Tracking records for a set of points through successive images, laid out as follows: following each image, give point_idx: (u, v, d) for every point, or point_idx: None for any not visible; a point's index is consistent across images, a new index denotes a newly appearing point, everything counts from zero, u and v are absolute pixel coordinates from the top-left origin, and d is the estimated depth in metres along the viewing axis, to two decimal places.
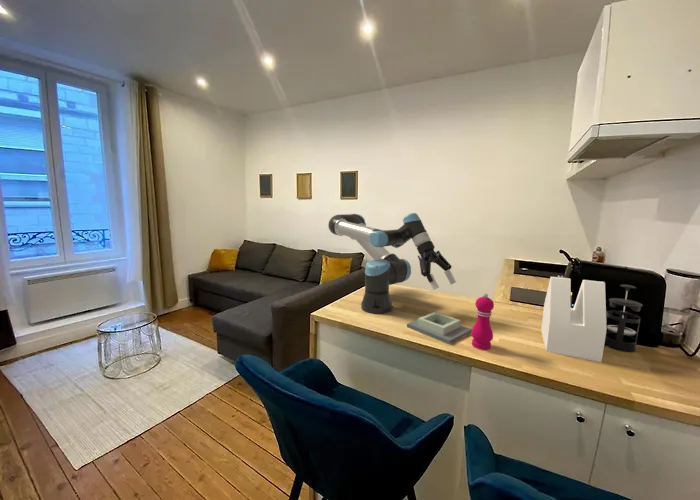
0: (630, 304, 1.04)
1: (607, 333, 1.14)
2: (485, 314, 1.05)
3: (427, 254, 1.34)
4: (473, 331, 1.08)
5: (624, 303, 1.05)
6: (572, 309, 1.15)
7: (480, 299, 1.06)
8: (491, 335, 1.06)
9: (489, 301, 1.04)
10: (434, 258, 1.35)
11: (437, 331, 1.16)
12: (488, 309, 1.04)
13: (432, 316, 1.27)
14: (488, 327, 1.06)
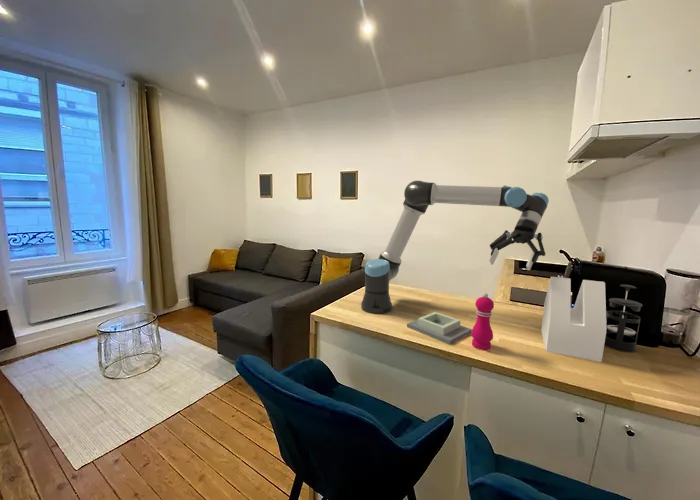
0: (630, 304, 1.04)
1: (607, 333, 1.14)
2: (485, 314, 1.05)
3: None
4: (473, 331, 1.08)
5: (624, 303, 1.05)
6: (572, 309, 1.15)
7: (480, 299, 1.06)
8: (491, 335, 1.06)
9: (489, 301, 1.04)
10: None
11: (437, 331, 1.16)
12: (488, 309, 1.04)
13: (432, 316, 1.27)
14: (488, 327, 1.06)
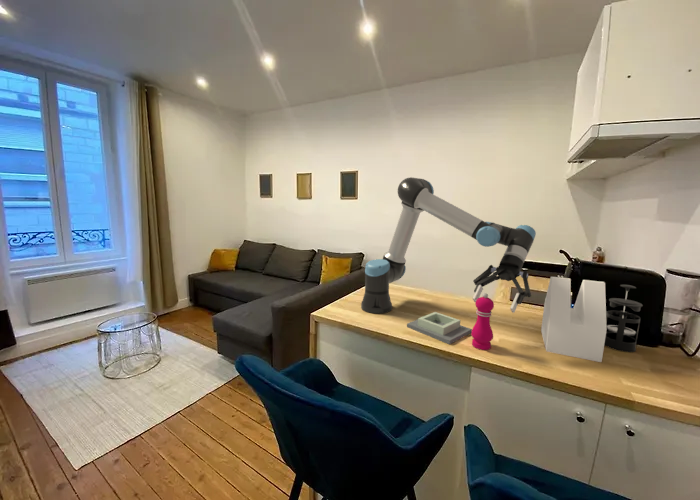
0: (630, 304, 1.04)
1: (607, 333, 1.14)
2: (485, 314, 1.05)
3: None
4: (473, 331, 1.08)
5: (624, 303, 1.05)
6: (572, 309, 1.15)
7: (480, 299, 1.06)
8: (491, 335, 1.06)
9: (489, 301, 1.04)
10: None
11: (437, 331, 1.16)
12: (488, 309, 1.04)
13: (432, 316, 1.27)
14: (488, 327, 1.06)
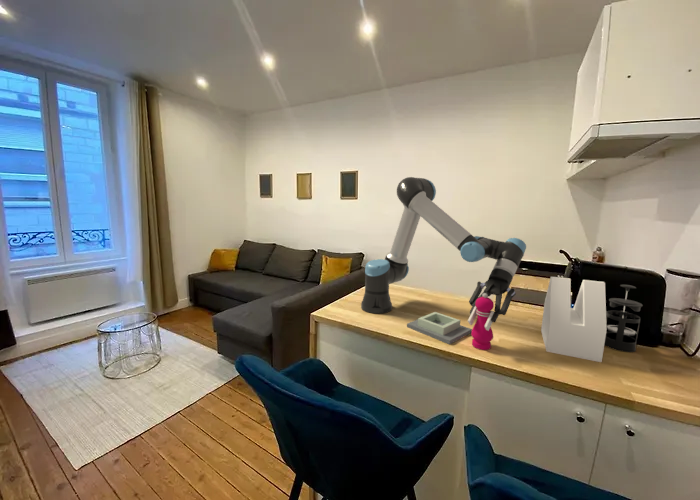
0: (630, 304, 1.04)
1: (607, 333, 1.14)
2: (485, 314, 1.05)
3: None
4: (473, 331, 1.08)
5: (624, 303, 1.05)
6: (572, 309, 1.15)
7: (480, 299, 1.06)
8: (491, 335, 1.06)
9: (489, 301, 1.04)
10: None
11: (437, 331, 1.16)
12: (488, 309, 1.04)
13: (432, 316, 1.27)
14: None
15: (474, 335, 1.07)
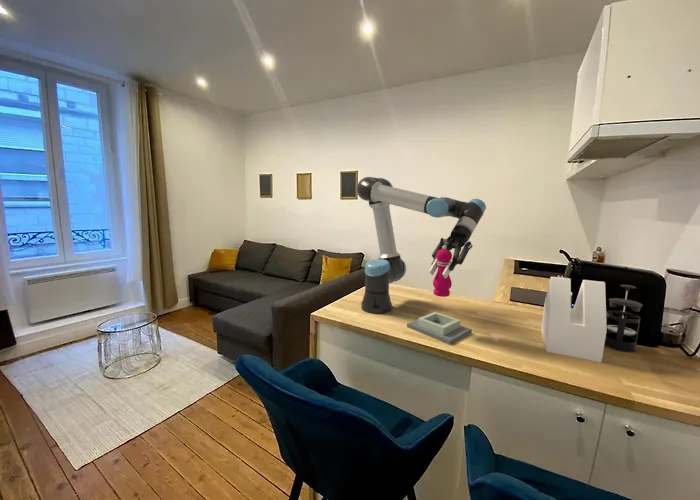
0: (630, 304, 1.04)
1: (607, 333, 1.14)
2: (444, 264, 1.16)
3: None
4: (434, 280, 1.19)
5: (624, 303, 1.05)
6: (572, 309, 1.15)
7: (440, 250, 1.17)
8: (449, 283, 1.17)
9: (447, 252, 1.15)
10: None
11: (437, 331, 1.16)
12: (446, 259, 1.15)
13: (432, 316, 1.27)
14: None
15: (434, 284, 1.18)
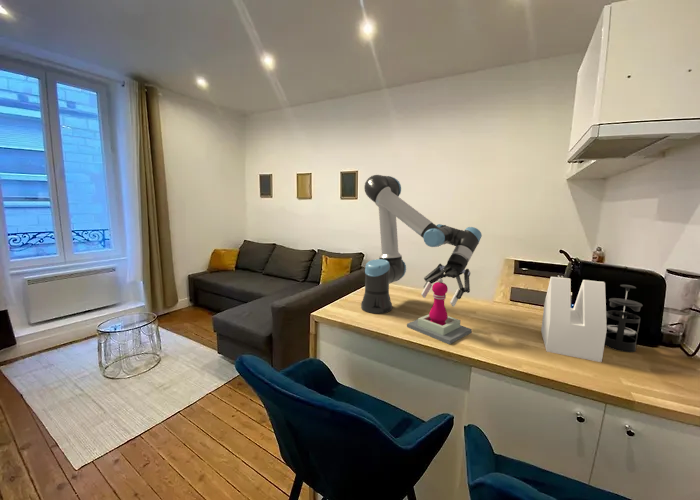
0: (630, 304, 1.04)
1: (607, 333, 1.14)
2: (439, 297, 1.19)
3: None
4: (430, 312, 1.22)
5: (624, 303, 1.05)
6: (572, 309, 1.15)
7: (435, 284, 1.20)
8: (445, 315, 1.20)
9: (443, 285, 1.18)
10: None
11: (437, 331, 1.16)
12: (442, 292, 1.18)
13: None
14: (443, 308, 1.20)
15: (431, 316, 1.21)
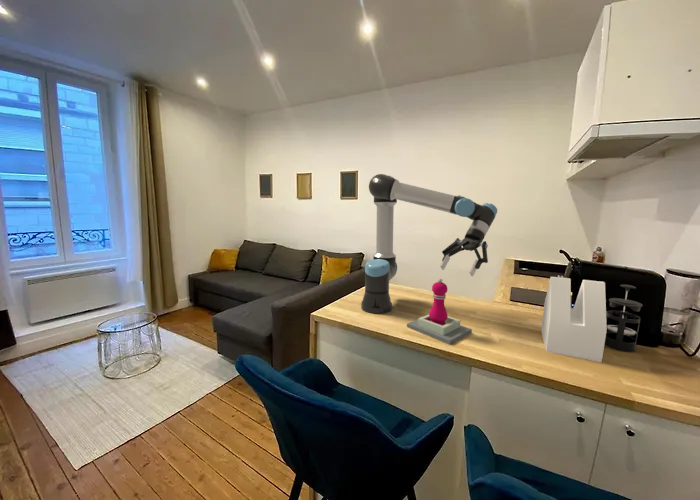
0: (630, 304, 1.04)
1: (607, 333, 1.14)
2: (439, 297, 1.19)
3: None
4: (430, 312, 1.22)
5: (624, 303, 1.05)
6: (572, 309, 1.15)
7: (435, 284, 1.20)
8: (445, 315, 1.20)
9: (443, 285, 1.18)
10: None
11: (437, 331, 1.16)
12: (442, 292, 1.18)
13: None
14: (443, 308, 1.20)
15: (430, 316, 1.21)
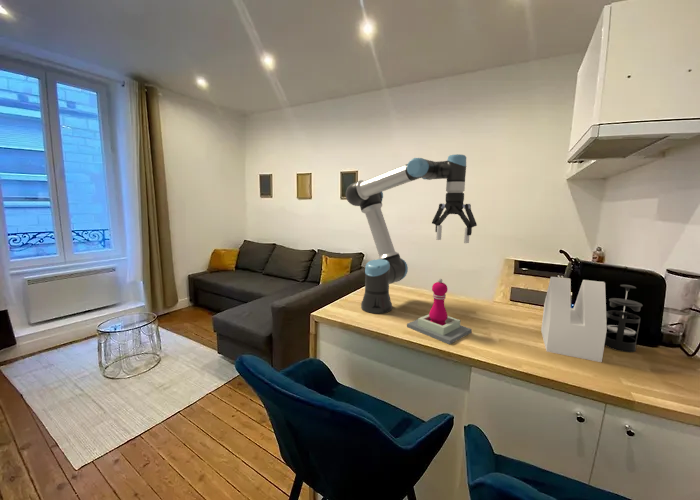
0: (630, 304, 1.04)
1: (607, 333, 1.14)
2: (439, 297, 1.19)
3: None
4: (430, 312, 1.22)
5: (624, 303, 1.05)
6: (572, 309, 1.15)
7: (435, 284, 1.20)
8: (445, 315, 1.20)
9: (443, 285, 1.18)
10: None
11: (437, 331, 1.16)
12: (442, 292, 1.18)
13: None
14: (443, 308, 1.20)
15: (430, 316, 1.21)
